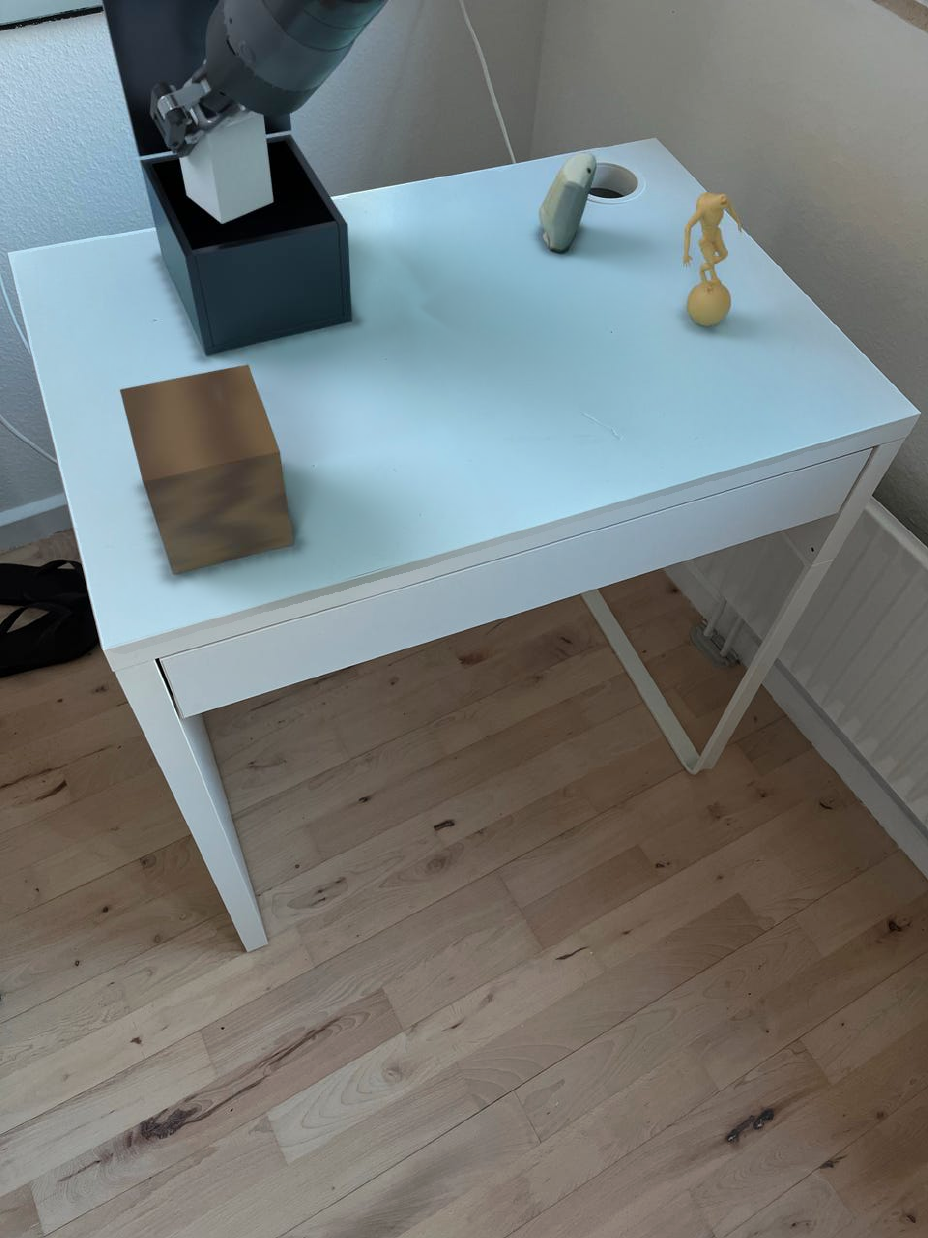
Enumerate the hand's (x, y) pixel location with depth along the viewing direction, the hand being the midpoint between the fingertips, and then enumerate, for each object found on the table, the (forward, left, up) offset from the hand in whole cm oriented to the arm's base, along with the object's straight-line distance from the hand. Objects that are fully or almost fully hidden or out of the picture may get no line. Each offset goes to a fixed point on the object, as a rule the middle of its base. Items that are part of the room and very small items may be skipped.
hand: (207, 132), depth 73 cm
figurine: (+17, -40, -16) cm, 46 cm away
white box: (-1, -2, -5) cm, 5 cm away
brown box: (-23, -11, -16) cm, 30 cm away
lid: (+8, +4, +2) cm, 9 cm away
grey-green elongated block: (+23, -25, -16) cm, 37 cm away
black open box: (+3, -1, -16) cm, 16 cm away
